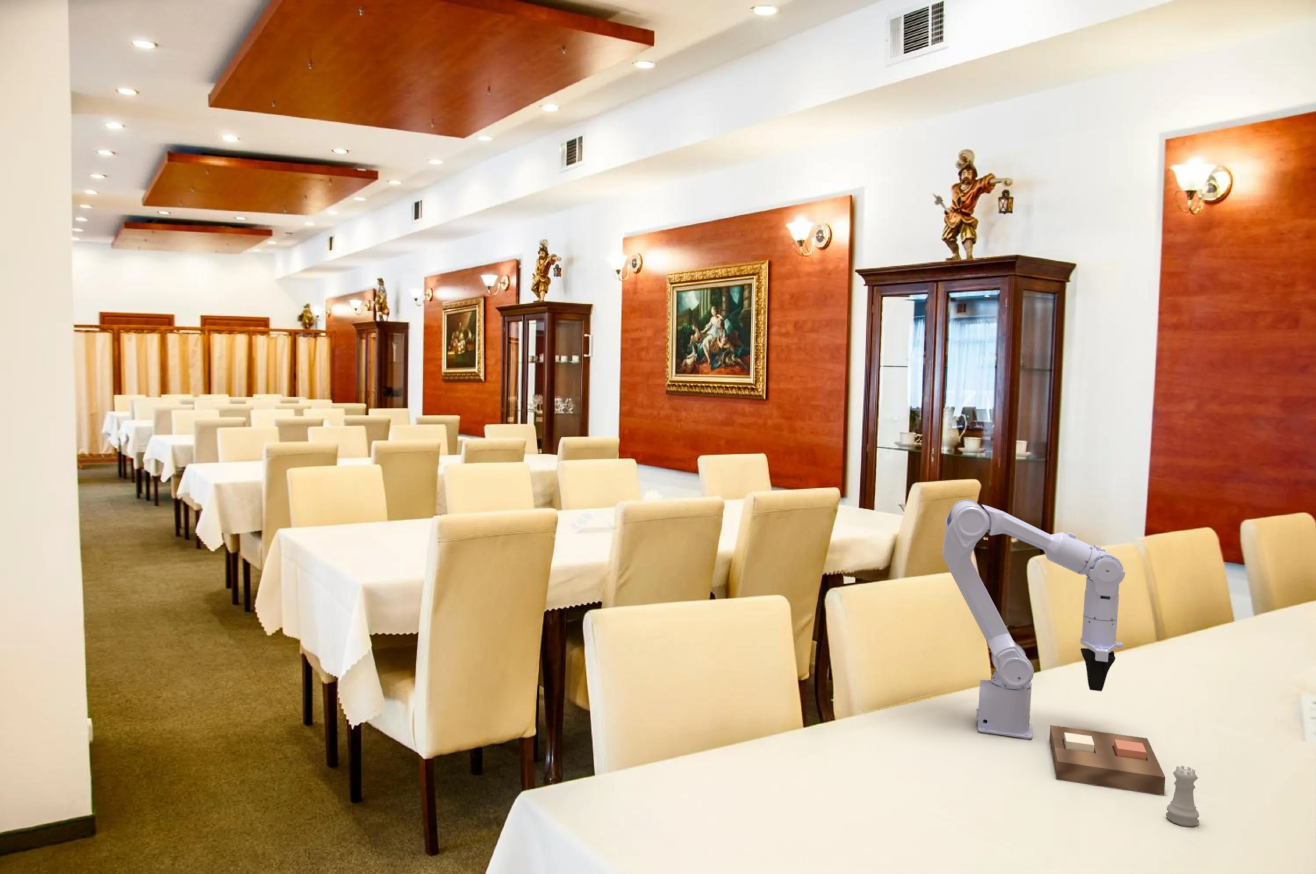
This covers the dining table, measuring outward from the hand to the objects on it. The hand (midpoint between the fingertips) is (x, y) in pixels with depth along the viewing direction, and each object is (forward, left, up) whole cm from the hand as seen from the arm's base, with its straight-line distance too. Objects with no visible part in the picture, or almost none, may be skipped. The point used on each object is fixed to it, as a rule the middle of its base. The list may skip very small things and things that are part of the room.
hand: (1095, 689), depth 177 cm
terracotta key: (+4, -14, -8) cm, 17 cm away
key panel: (0, -14, -9) cm, 17 cm away
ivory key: (-4, -14, -9) cm, 16 cm away
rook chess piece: (+9, -32, -10) cm, 34 cm away
